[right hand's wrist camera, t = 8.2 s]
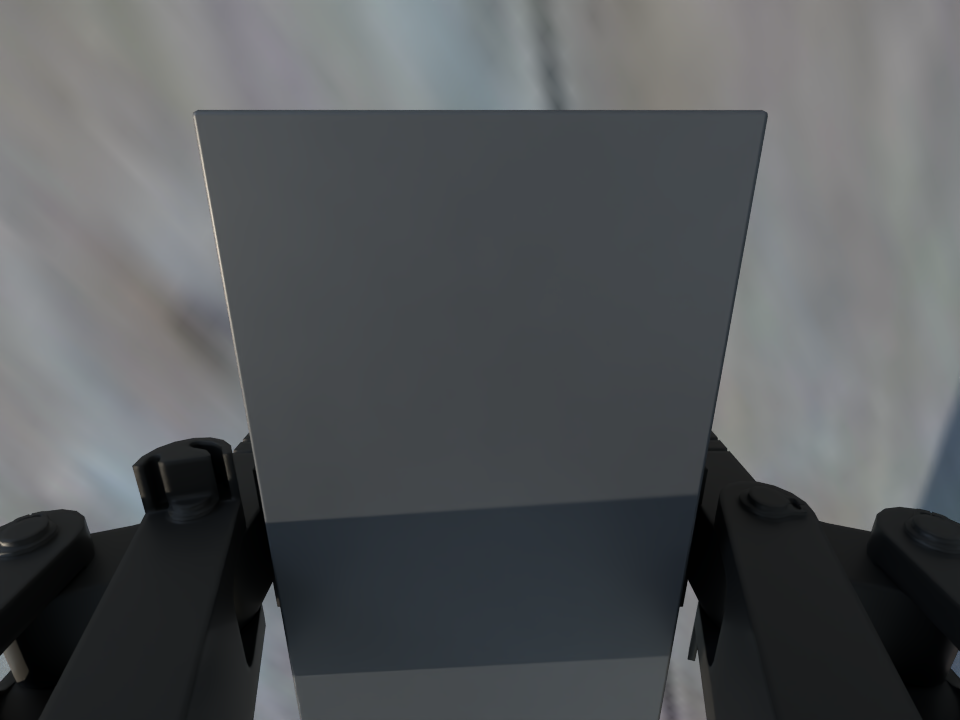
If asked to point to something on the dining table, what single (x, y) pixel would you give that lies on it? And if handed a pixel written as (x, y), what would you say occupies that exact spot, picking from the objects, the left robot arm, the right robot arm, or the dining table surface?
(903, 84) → the dining table surface
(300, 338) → the bar
